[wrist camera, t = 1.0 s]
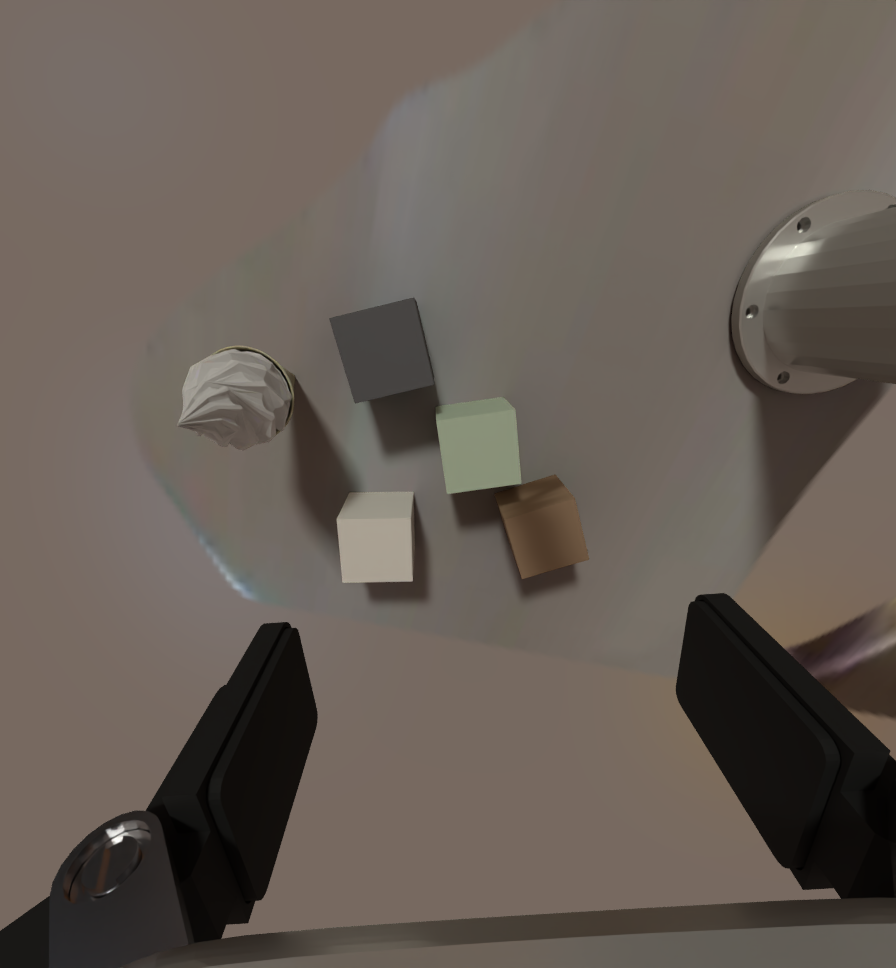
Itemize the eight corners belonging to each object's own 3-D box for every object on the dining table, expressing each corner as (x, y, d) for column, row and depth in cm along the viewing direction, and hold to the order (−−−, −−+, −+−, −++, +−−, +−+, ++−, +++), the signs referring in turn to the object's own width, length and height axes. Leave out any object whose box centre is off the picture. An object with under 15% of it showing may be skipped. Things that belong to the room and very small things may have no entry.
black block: (416, 301, 29) (414, 297, 25) (433, 375, 31) (434, 384, 26) (345, 319, 30) (329, 318, 25) (366, 391, 31) (355, 403, 27)
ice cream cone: (312, 424, 32) (218, 505, 18) (244, 392, 31) (89, 451, 17) (339, 362, 30) (260, 396, 16) (269, 326, 29) (122, 329, 15)
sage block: (502, 396, 32) (515, 409, 27) (508, 461, 34) (521, 483, 29) (435, 406, 32) (436, 420, 27) (444, 470, 34) (446, 494, 29)
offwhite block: (413, 491, 34) (410, 518, 29) (415, 547, 36) (412, 581, 31) (349, 492, 34) (336, 519, 29) (354, 548, 36) (342, 582, 31)
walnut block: (555, 474, 34) (574, 498, 29) (568, 528, 36) (589, 559, 31) (494, 493, 34) (503, 520, 30) (510, 545, 36) (522, 579, 31)
